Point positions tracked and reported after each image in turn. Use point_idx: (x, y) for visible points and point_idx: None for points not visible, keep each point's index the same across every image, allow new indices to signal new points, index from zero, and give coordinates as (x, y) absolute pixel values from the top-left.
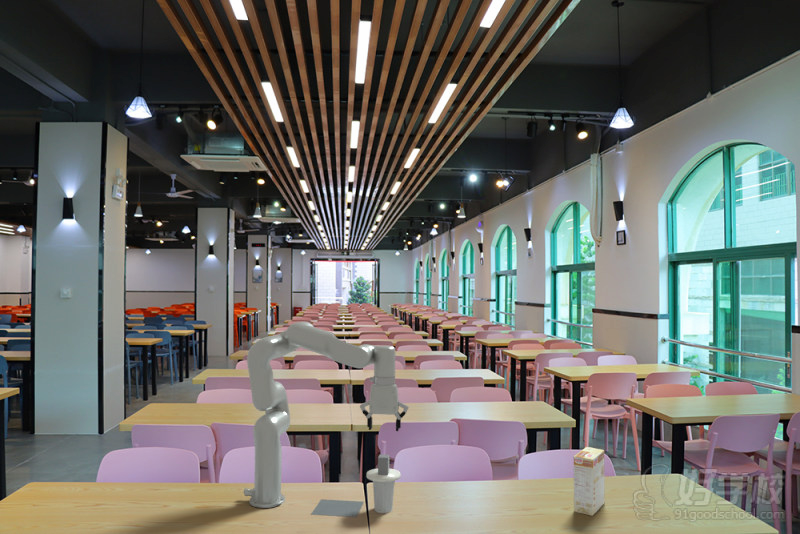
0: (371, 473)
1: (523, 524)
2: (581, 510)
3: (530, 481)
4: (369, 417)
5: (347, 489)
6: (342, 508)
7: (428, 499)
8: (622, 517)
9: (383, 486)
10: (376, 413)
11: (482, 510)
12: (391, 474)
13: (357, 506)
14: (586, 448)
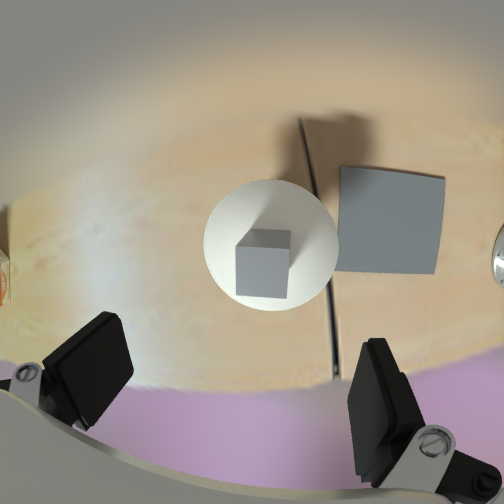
0: (319, 243)
1: (37, 201)
2: (2, 255)
3: None
4: (414, 439)
5: None
6: (384, 220)
7: (180, 303)
8: None
9: None
10: (299, 498)
11: (83, 251)
12: (237, 239)
13: (348, 236)
14: None
